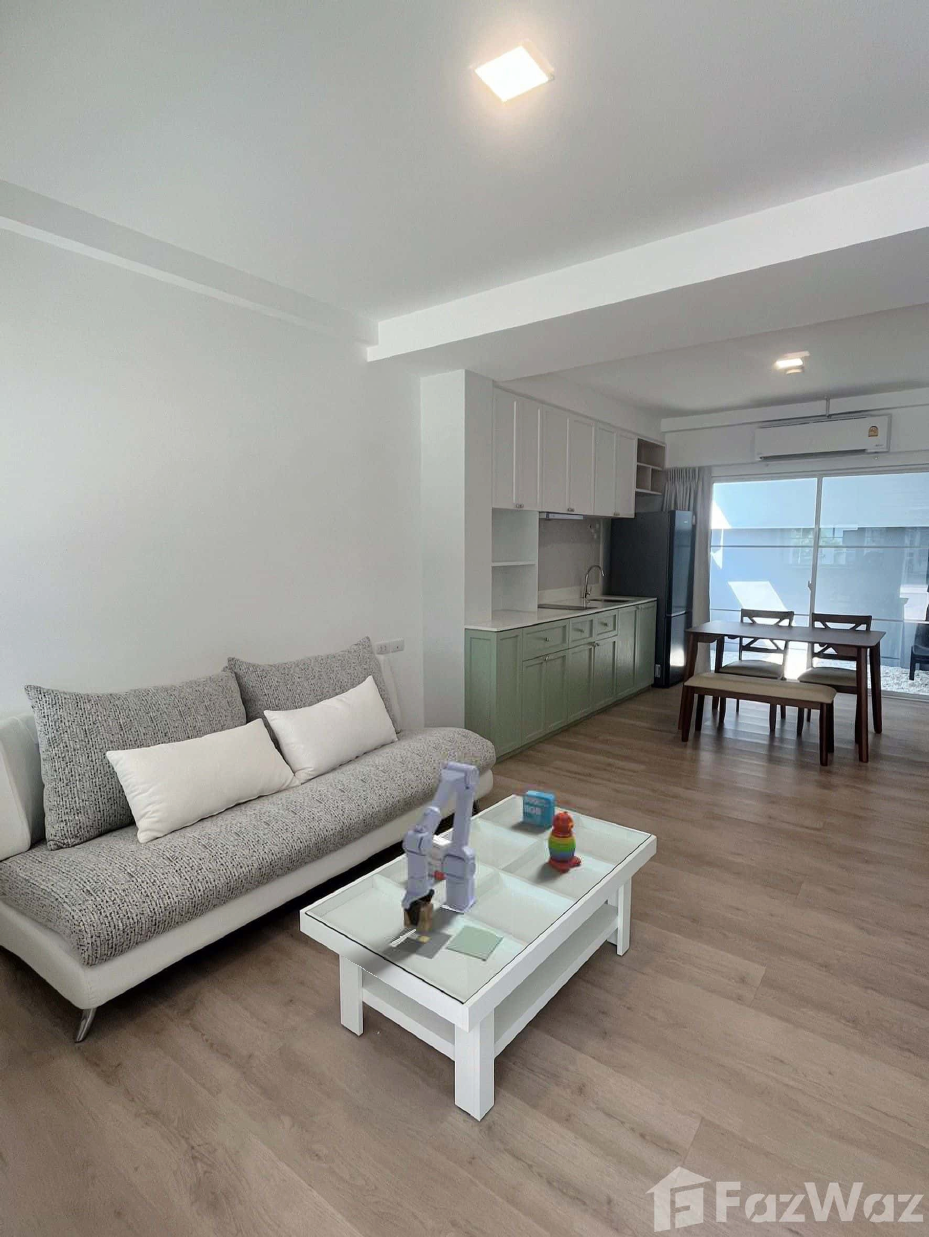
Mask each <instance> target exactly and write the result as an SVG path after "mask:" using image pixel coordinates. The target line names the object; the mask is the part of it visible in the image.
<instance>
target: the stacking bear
mask: <svg viewBox="0 0 929 1237" xmlns="http://www.w3.org/2000/svg"><path fill="white" fill-rule="evenodd" d="M574 823H575V822H574V821H573V818H572V816H570V814H568V811H563V812H557V813H555V816H554V817H553V824H552V826H553V828H552V829H551V831H550V833H549V837H548V843H547V847H548V852H549V858H548V863H549V865H550V867H552V868H553V869H554V870H556V871H558V872H560V873H563V872H564V873H566V872H569V870H570V869H571V868H572V867H578V865H579V866H581V865H580V863H581V864H582V859H581V858H580V857H578V856H577V855H575V852H576V846H577V845H576V839H575V838H576V837H575V835H574V831H573V829H574V826H575V824H574Z"/></svg>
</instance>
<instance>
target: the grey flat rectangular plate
mask: <svg viewBox="0 0 929 1237" xmlns="http://www.w3.org/2000/svg"><path fill="white" fill-rule="evenodd" d="M412 930H414V929H413V928H409V927H406V926H404V928H403V929H402V930H401V931H400V932H399V933H398V934H396V936H395V937H394V938H393V939H392V940H391V941H390V942H389V943H391V942H393V941H395V940H397V939H399V938H400V936H403V935H405V934H406V933H408V932H410V931H412ZM452 937H453V935H452V934H449V933H446V932H442V931H438V930H434V929H432V928H429V929H428V931H427V932H423V931H419V930H416V931H415V932H414V933H412V934H411V935H410V936H409V937H407V938H406V939H405V940H404V941H403V942H401V943H400V944H398V945H397V946H396V947H395V948H394V949H398V950H401V951H404V952H407V953H410V954H414V955H416V956H420V957H424V958H426V959H430V960H432V959H433V958H434V957H436V955H437V954H438V952H440V951H441V949H442V948H443V947H444V946H445V945H446V944H447V943H448V941H450V939H451V938H452Z"/></svg>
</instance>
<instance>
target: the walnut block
mask: <svg viewBox="0 0 929 1237" xmlns="http://www.w3.org/2000/svg"><path fill="white" fill-rule="evenodd" d="M416 901H417V903H421V904H422V906H421V909H420V913H419V922H418V925H417V926H413V925H411V924H410V921H409V918H408V914H407V912H406V910H405V908H403V926H404V927H409V928H413V929H416V930H419V931H423V932H427V931H428V929H431V927H433V925H435V919H434V918H435V917H434V915H435V914H434V913H435V912H434V911H435V908H434V907H435V906H434V903H432V902H430V903H429V902H426V901H422V900H418V899H417V900H416Z"/></svg>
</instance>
